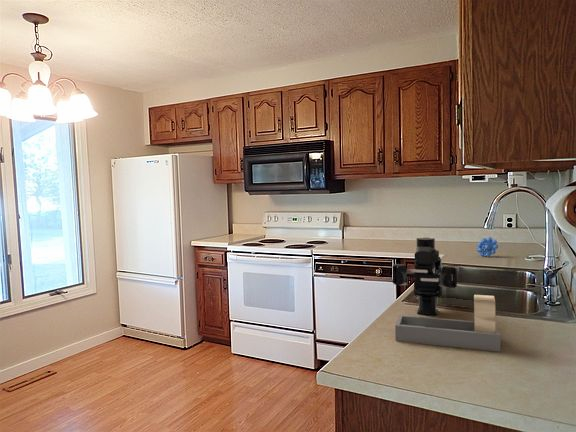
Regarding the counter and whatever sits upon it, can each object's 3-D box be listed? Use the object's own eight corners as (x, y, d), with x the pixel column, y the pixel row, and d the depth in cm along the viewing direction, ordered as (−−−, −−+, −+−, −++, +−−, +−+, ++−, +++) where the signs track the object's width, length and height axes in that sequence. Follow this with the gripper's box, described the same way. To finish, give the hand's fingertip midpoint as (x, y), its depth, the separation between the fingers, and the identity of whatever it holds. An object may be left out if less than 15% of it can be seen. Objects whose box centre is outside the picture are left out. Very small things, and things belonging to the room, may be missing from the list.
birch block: (474, 332, 118) (474, 294, 118) (493, 334, 117) (493, 295, 116) (474, 338, 114) (474, 299, 113) (495, 340, 112) (495, 300, 111)
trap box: (399, 329, 129) (399, 315, 128) (496, 338, 119) (496, 323, 118) (395, 340, 120) (395, 325, 119) (500, 351, 109) (500, 335, 109)
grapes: (499, 256, 247) (499, 236, 246) (497, 258, 241) (497, 237, 241) (477, 255, 253) (477, 235, 253) (476, 257, 248) (476, 237, 247)
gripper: (395, 245, 137) (388, 253, 123) (456, 246, 130) (456, 255, 116) (396, 278, 138) (389, 290, 124) (456, 281, 131) (457, 294, 117)
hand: (422, 281), depth 120 cm, fingers open, 9 cm apart
